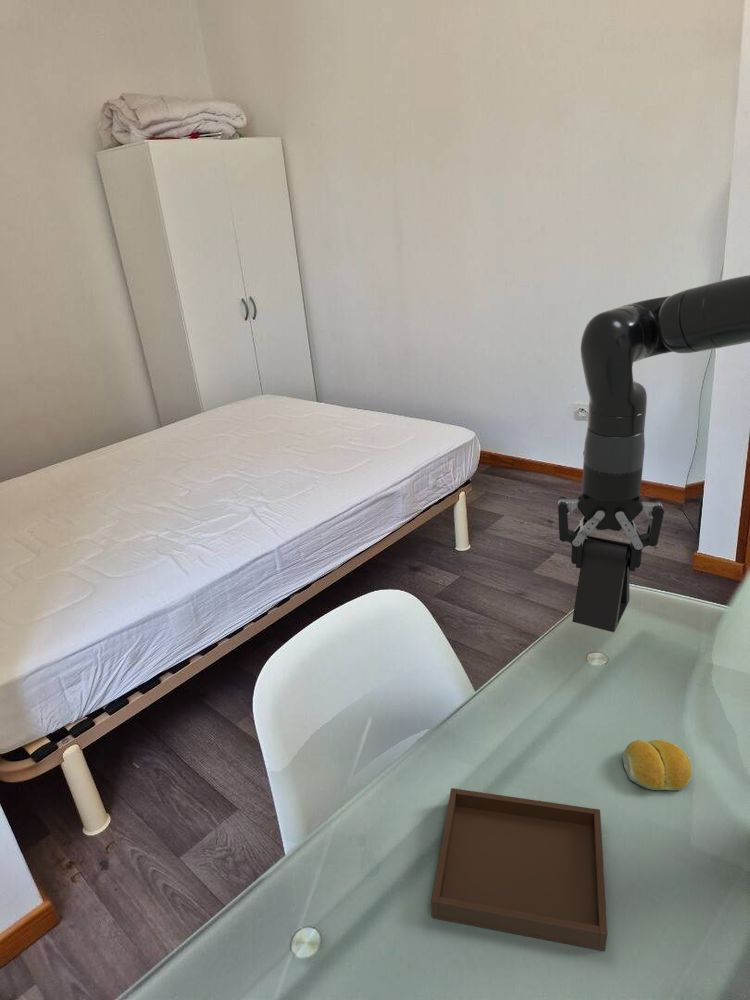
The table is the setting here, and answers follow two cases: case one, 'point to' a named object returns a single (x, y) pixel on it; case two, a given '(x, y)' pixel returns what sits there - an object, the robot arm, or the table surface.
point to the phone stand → (602, 583)
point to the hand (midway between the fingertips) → (604, 566)
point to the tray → (522, 868)
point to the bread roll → (657, 765)
